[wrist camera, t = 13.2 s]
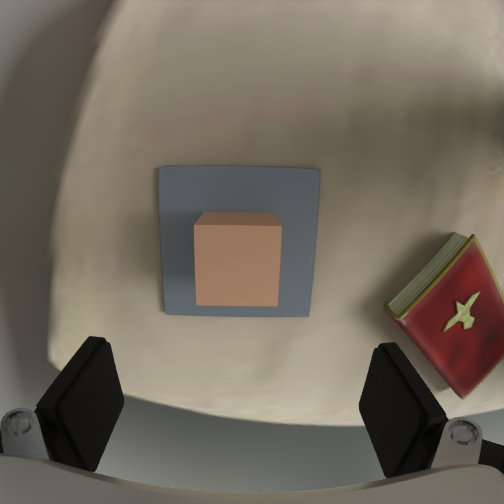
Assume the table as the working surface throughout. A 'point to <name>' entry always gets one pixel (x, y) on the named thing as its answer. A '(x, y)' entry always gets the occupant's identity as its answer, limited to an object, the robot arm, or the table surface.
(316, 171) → the slate mat
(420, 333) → the hardcover book
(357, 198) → the table surface
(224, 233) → the terracotta cube
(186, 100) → the table surface
